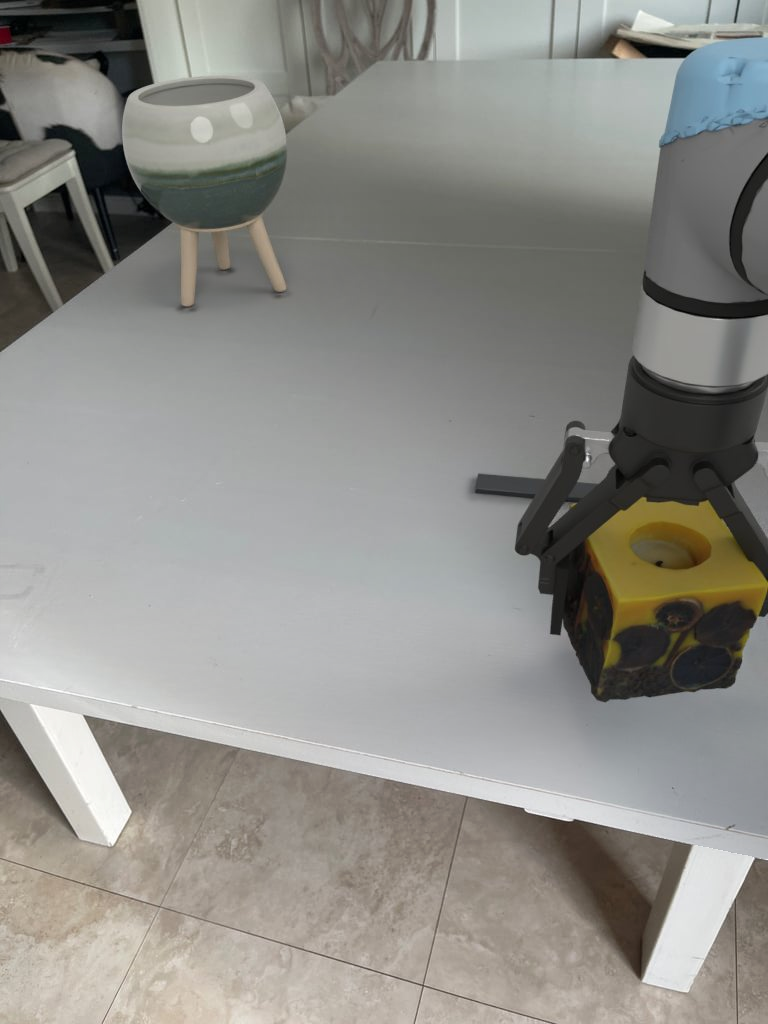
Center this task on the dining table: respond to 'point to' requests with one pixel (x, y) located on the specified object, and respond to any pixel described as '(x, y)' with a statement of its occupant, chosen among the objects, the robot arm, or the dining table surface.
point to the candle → (661, 602)
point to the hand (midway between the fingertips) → (641, 631)
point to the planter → (208, 162)
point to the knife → (524, 486)
